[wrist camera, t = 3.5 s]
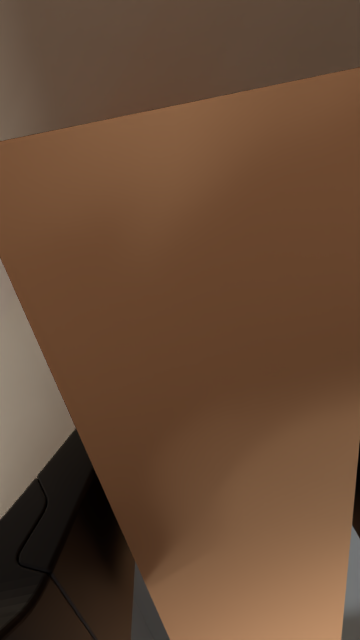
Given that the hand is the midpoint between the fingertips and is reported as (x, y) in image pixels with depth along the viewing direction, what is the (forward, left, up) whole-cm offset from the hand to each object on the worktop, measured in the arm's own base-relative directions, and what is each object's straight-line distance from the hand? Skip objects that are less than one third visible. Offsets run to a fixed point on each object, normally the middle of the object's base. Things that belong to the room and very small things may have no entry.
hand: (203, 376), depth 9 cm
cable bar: (0, 0, -1) cm, 1 cm away
